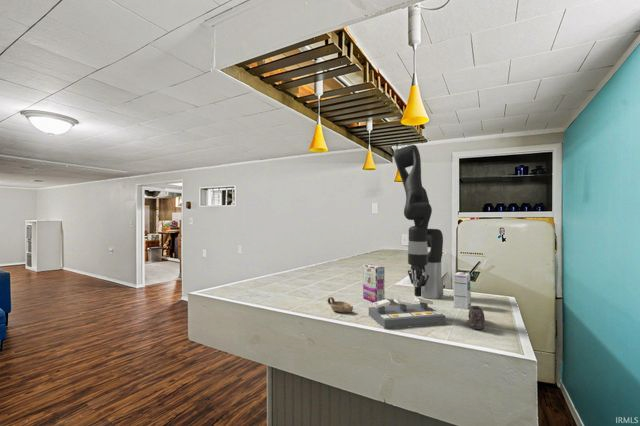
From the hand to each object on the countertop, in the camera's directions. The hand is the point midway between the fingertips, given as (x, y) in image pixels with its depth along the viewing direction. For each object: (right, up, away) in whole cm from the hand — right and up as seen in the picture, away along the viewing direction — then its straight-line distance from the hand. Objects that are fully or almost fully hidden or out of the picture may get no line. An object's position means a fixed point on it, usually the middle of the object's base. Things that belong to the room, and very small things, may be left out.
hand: (417, 296), depth 127 cm
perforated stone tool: (+18, -8, -10) cm, 23 cm away
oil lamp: (-31, -9, +8) cm, 33 cm away
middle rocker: (-6, -2, -1) cm, 7 cm away
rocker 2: (+2, -2, 0) cm, 3 cm away
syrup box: (+23, -8, +13) cm, 28 cm away
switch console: (-6, -8, -3) cm, 11 cm away
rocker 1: (-15, -2, -3) cm, 16 cm away
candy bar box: (-14, -8, +24) cm, 28 cm away
